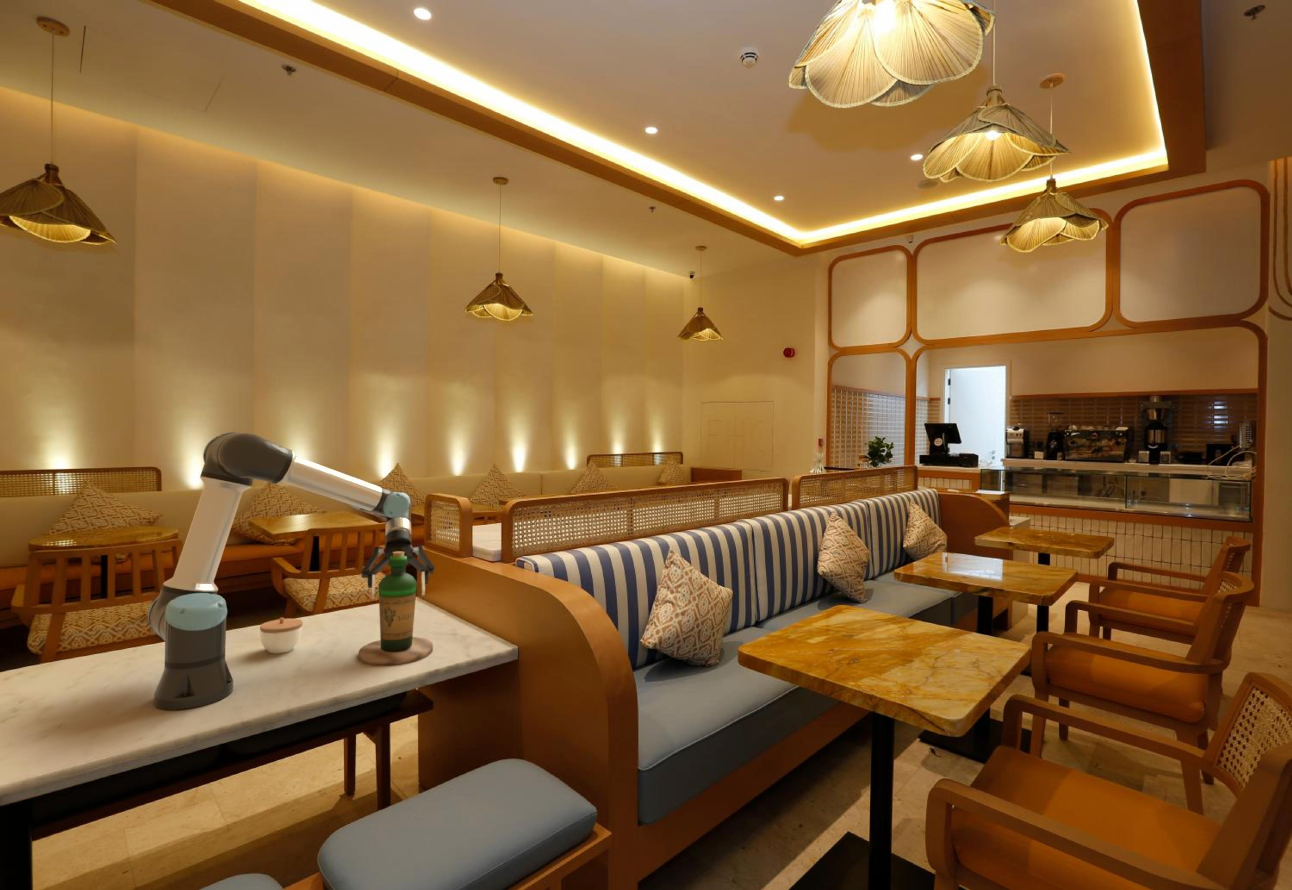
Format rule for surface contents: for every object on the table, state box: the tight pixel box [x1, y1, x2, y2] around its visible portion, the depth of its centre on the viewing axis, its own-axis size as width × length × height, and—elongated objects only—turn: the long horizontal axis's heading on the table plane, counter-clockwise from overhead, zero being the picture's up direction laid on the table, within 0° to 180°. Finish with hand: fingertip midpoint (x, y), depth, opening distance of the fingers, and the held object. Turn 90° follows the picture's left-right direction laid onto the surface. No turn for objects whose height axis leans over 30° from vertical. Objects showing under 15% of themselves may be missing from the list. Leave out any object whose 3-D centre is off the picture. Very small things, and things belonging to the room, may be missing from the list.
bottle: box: [378, 551, 418, 652], centre depth 176 cm, size 11×11×28 cm
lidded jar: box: [259, 617, 303, 654], centre depth 176 cm, size 11×11×9 cm
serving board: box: [358, 636, 434, 667], centre depth 176 cm, size 20×20×2 cm
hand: (398, 594), depth 175 cm, fingers open, 13 cm apart
